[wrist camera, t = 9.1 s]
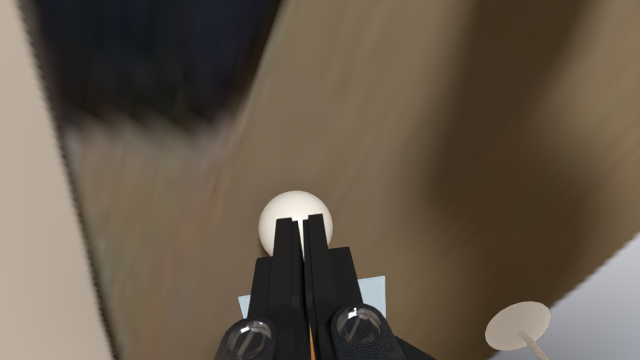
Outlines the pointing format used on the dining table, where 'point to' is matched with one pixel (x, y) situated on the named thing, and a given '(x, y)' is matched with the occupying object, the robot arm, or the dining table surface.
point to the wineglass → (519, 327)
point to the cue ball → (291, 215)
